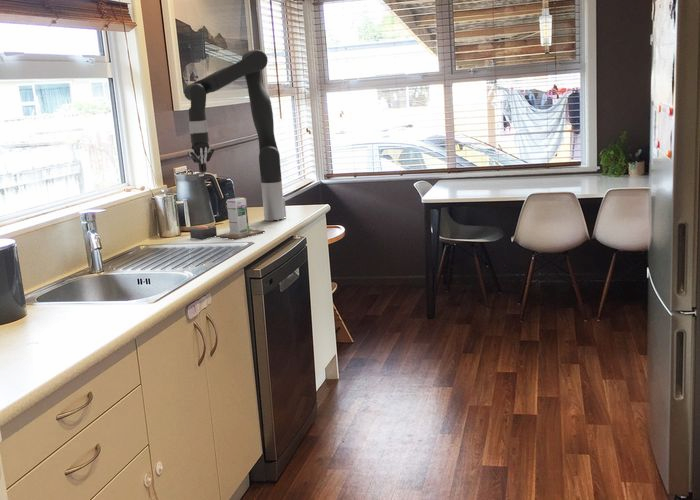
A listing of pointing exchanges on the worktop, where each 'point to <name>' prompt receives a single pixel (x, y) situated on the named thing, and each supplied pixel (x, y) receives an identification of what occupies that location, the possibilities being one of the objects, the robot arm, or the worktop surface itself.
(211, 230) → the button housing
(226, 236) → the board
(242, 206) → the syrup box
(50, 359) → the worktop surface
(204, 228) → the button
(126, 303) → the worktop surface
